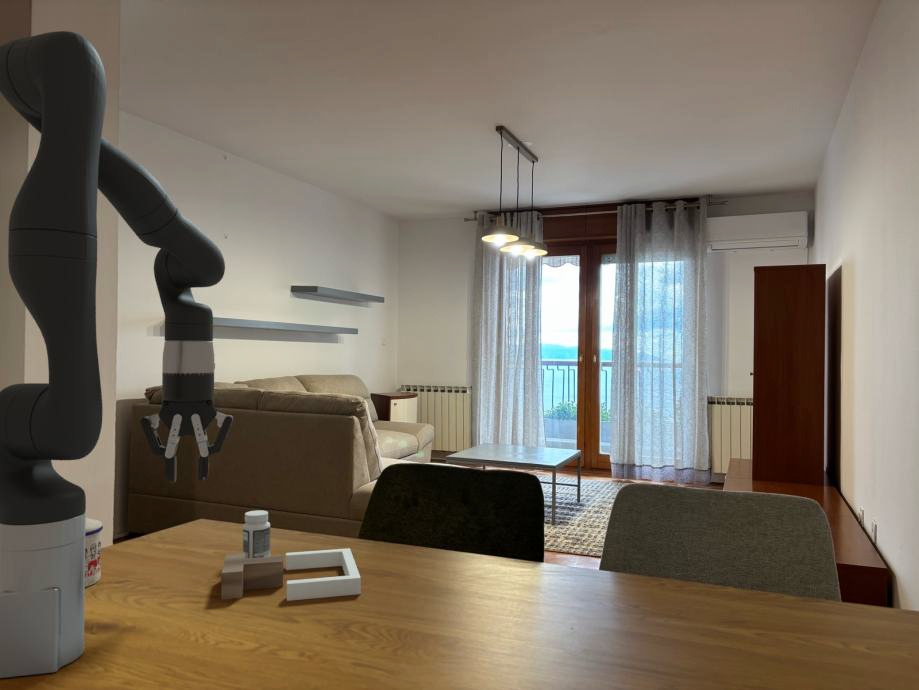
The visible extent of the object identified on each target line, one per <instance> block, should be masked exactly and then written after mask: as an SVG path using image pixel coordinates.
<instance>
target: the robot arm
mask: <svg viewBox="0 0 919 690" xmlns="http://www.w3.org/2000/svg"><path fill="white" fill-rule="evenodd" d="M0 93H1V94H2V97H3V98H4V99H5V100H6V102H7V103H8V104H9V105H10V106H11V107H12V108H13V109H14V110H15V111H16V112H17V113H18V114H19V115H20V116H21V117H23V118H24V119H25V120H26V121H27V123H29V124H30V126H32V127H33V128H34V130H36V131H37V132H39V134H40V141H39V146H38V150H37V153H36V156H35V158H34V161H33V163H32V165H31V167H30V169H29V171H28V173H27V175H26V177H25V179H24V181H23V183H22V185H21V187H20V189H19V191H18V193H17V195H16V196H15V197H16V198H15V199H14V203H13V205H12V208H11V212H10V215H9V219H8V241H7V242H8V248H7V250H8V252H7V257H8V258H7V260H8V264H7V265H8V271H9V272H8V273H9V276H10V279H11V282H12V284H13V287H14V289H15V291H16V292H17V294H18V296H19V297H20V299H21V301H22V302H23V304H24V306H25V307H26V309H27V311H28V312H29V314H30V315H31V317H32V319H33V320H34V322H35V323H36V325H37V327H38V329H39V330H40V332H41V335H42V338H43V342H44V344H45V348H46V354H47V365H48V383H45V382H43V383H41V382H40V383H38V382H36V383H35V382H30V383H28V382H27V383H24V382H23V383H14V384H11V385H7V386H6V387H4V388H3V389H1V391H0V679H2V678H14V677H23V676H32V675H42V674H49V673H50V674H51V673H55V672H56V673H57V672H58V671H59V670H60V668H62V667H64V666H66V665H68V664H70V663H72V662H74V661H75V660H78V658H80V657H81V656H82V654H83V653H84V651H85V597H86V595H85V590H86V589H85V588H86V587H85V525H86V516H87V513H86V509H87V507H86V506H87V499H86V498H87V497H86V496H87V495H86V492H85V490H84V489H83V488H82V487H81V486H79V485H77V484H75V483H74V482H72V481H69V480H67V479H66V478H64V477H63V476H61V474H60V473H58V471H56V469H55V468H54V466H53V462H52V461H77V460H81V459H84V458H86V457H87V456H89V454H91V453H92V451H93V450H94V449H95V447H96V446H97V444H98V441H99V440H100V435H101V431H102V427H103V426H102V425H103V394H102V384H101V376H100V375H101V373H100V365H99V364H100V362H99V354H98V353H99V352H98V343H97V342H98V340H97V339H98V338H97V304H96V303H97V292H96V291H97V275H98V274H97V273H98V272H97V270H98V223H97V222H98V221H97V220H98V219H97V218H98V217H97V213H98V212H97V210H98V209H97V208H98V190H99V192H100V193H101V194H102V195H103V196H104V197H105V198H106V199H107V201H108V202H109V203H110V204H111V205H112V206H113V208H114V209H115V211H116V212H117V213H118V214H119V215H120V217H121V218H122V219H123V220H124V222H125V223H126V224H127V225H128V227H129V228H130V229H131V230H132V232H133V233H134V234H135V235H136V237H137V238H138V239H139V240H140V241H141V242H142V243H143V244H145V245H147V246H150V247H154V248H158V249H159V250H158V251H157V253H156V256H155V257H154V261H153V274H154V276H153V277H154V280H155V284H156V288H157V291H158V295H159V299H160V303H161V307H162V309H163V313H164V345H163V350H162V369H161V370H162V374H161V375H162V376H161V377H162V381H161V383H162V384H161V385H162V387H161V405H160V408H159V410H158V413H155V414H152V415H150V416H148V415H147V416H144V417H142V418H141V419H140V426H141V428H142V430H143V433H144V435H145V437H146V440H147V442H148V445H149V447H150V449H151V452H152V454H154V455H159V456H161V457H163V458H164V459H165V461H164V462H165V463H164V465H165V466H164V467H165V469H164V470H165V471H164V476H165V478H166V480H167V479H168V480H169V483H176V482H177V478H178V475H177V474H178V473H177V471H178V470H177V469H178V466H177V464H178V463H177V462H178V461H177V460H178V459H177V458H178V456H176V453H177V449H178V445H179V441H180V438H181V437H183V436H191V437H195V438H196V443H197V445H198V450H199V457H198V471H197V472H198V474H197V475H198V479H197V480H198V482H204V480H205V478H208V476H209V474H210V456H211V455H214V454H217V453H219V452H220V451H221V450H222V448H223V445H224V444H225V440H226V439H227V436H228V434H229V431H230V429H231V427H232V424H233V420H234V416H233V415H231V414H225V413H222V412H219V411H218V408H217V407H216V405H215V369H216V363H215V350H214V349H215V348H214V342H213V341H214V315H213V313H214V312H213V309H212V308H211V307H210V306H208V305H207V304H205V303H200V302H197V301H195V298H194V296H193V295H194V294H193V292H192V289H193V288H210V287H213V286H216V285H217V284H219V283H220V282H221V281H222V280H223V278H224V276H225V271H226V262H225V259H224V256H223V254H222V251H221V249H220V248H219V246H218V245H217V244H216V243H215V241H213V239H211V238H210V237H209V236H208V235H207V234H206V233H205V232H203V230H202V229H200V228H199V227H198V226H197V225H196V224H194V223H193V222H192V221H191V220H190V219H188V217H185V216H184V215H183V214H182V212H181V211H180V210H179V208H178V207H177V205H176V204H175V203H174V201H173V200H172V198H171V197H170V196H169V194H168V193H167V192H166V190H165V188H164V187H163V186H162V184H161V183H160V182H159V181H158V179H156V178H155V177H154V175H153V174H152V173H150V171H148V170H147V169H146V168H145V167H144V166H142V165H141V164H140V163H139V162H137V161H135V159H133V158H132V157H130V156H129V155H128V154H126V153H125V152H123V151H122V150H120V149H119V148H118V147H116V146H115V145H114V144H112V142H110V141H108V140H107V139H106V138H105V137H104V136H103V135H102V134H103V129H104V128H103V127H104V120H105V111H106V104H107V102H106V101H107V78H106V71H105V67H104V64H103V61H102V59H101V57H100V55H99V53H98V51H97V49H95V47H94V46H93V44H92V43H91V42H90V41H89V40H88V39H86V37H84V36H83V35H81V34H79V33H76V32H73V31H64V30H62V31H61V30H58V31H50V32H43V33H41V34H36V35H32V36H27V37H22V38H18V39H14V40H10V41H8V42H5V43H3V44H1V45H0ZM215 419H216V420H217V426H218V427H219V428H220V429H219V432H218V434H217V436H216V439H215V442H214V443H213V444H211V445H209V441H208V435H207V429H208V428H209V426H210V425H211V423H212V422H213V421H214V420H215ZM160 420H161V422H162V423H163V424H164V425H165V427H166V428H167V429H168V430H169V434H168V440H167V443H166V446H164V445H163V444H162V441H161V439H160V435H159V434H158V431H157V428H158V427H159V425H160V423H159V421H160Z"/></svg>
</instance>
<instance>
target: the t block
mask: <svg viewBox="0 0 919 690" xmlns="http://www.w3.org/2000/svg"><path fill="white" fill-rule="evenodd" d="M220 583H221V584H220V585H221V594H220V595H221V597H220V599H221V601H223V600H222V599H225V600H233V598H236V599H243V597H242V596H244V591H246V590H249V591H250V590H259V589H260V590H261V589H271V588H279V587H280V588H281V587H284V555H278V556H277V555H276V556H270V557H259V558H246V552H243V551H242V552H233V553H232V552H231V553H226V554H225V558H224V562H223V567H222V570H221V582H220Z"/></svg>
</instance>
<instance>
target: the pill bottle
mask: <svg viewBox="0 0 919 690" xmlns="http://www.w3.org/2000/svg"><path fill="white" fill-rule="evenodd" d="M244 522H245V523H244V524H243V526H242V553H243V552H246V558H259V557H271V523H270V522H269V512H268V511H267V510H262V509H261V510H250V511H247V512H245V513H244Z"/></svg>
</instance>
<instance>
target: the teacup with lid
mask: <svg viewBox="0 0 919 690" xmlns="http://www.w3.org/2000/svg"><path fill="white" fill-rule="evenodd" d="M103 529H104V526H103V523H102V522H101V521H100V520H97V519H94V518H93V519H92V518H89V517H86V525H85V588H87V587H89V586H92V585H94V584H96V583H98V582H99V580H100V579H101V574H102V573H101V572H102V571H101V569H102V564H101V563H102V531H103Z"/></svg>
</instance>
